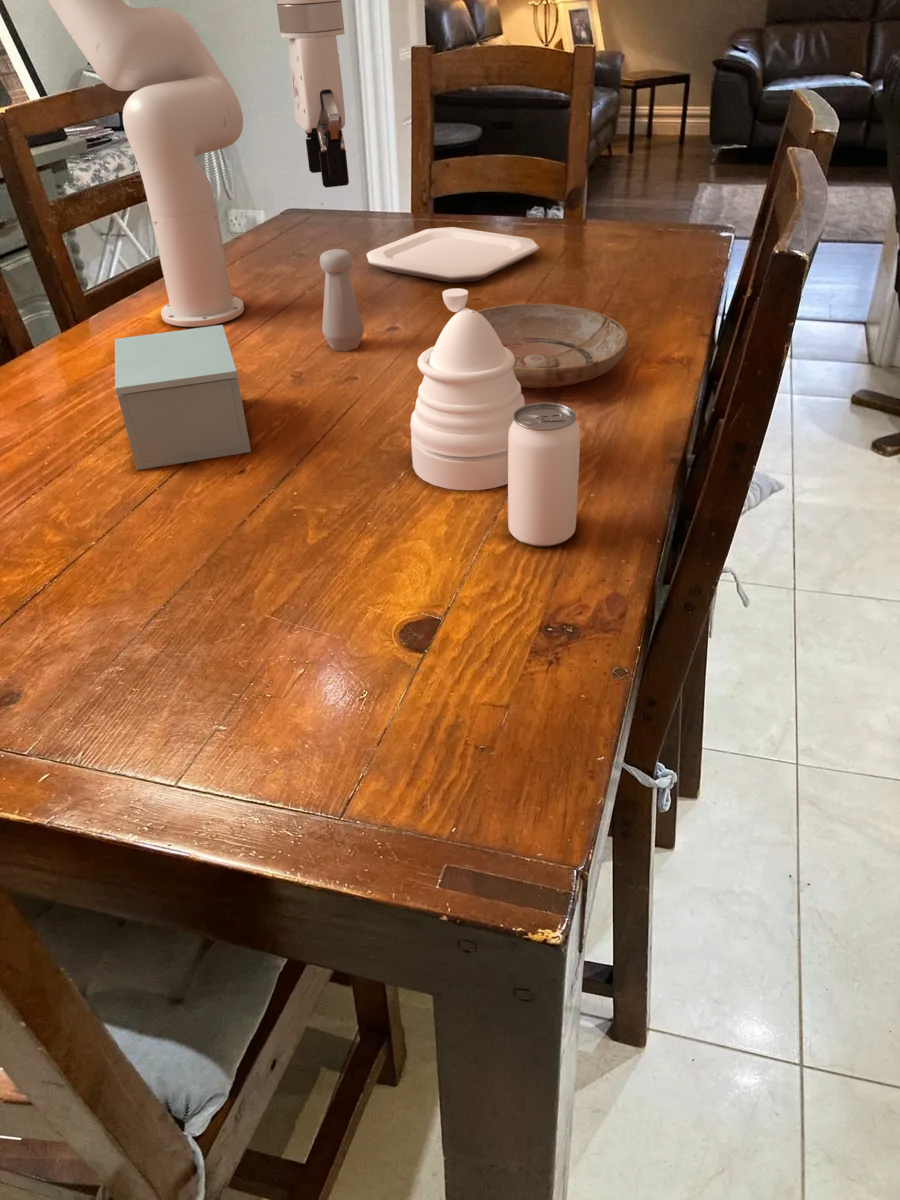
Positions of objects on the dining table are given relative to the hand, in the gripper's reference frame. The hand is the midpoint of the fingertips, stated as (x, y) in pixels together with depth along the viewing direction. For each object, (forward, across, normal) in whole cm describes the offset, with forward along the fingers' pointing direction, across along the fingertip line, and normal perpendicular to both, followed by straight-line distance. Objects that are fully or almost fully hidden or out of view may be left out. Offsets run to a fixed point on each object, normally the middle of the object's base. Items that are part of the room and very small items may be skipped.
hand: (328, 178), depth 119 cm
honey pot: (+23, +40, +6) cm, 46 cm away
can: (+23, +56, +8) cm, 61 cm away
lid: (+13, +21, -23) cm, 34 cm away
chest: (+22, +21, -23) cm, 38 cm away
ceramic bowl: (+23, +18, +22) cm, 36 cm away
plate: (+22, -33, +26) cm, 48 cm away
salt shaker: (+22, 0, 0) cm, 22 cm away
